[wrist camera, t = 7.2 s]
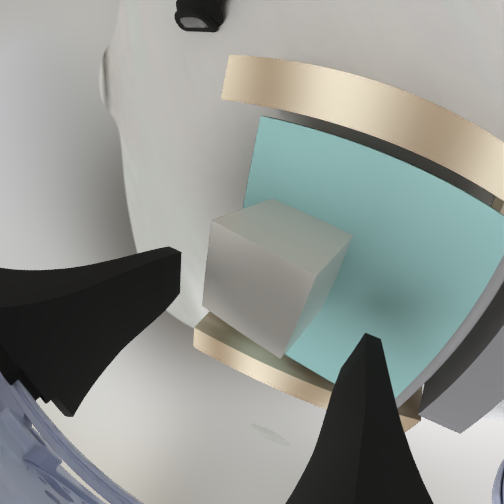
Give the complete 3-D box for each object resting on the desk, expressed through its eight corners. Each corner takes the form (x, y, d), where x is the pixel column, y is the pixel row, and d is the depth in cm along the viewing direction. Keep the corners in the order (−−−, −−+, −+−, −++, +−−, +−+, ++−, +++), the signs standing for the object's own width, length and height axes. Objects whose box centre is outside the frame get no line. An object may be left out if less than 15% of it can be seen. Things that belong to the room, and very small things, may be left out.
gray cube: (353, 235, 11) (316, 275, 8) (322, 307, 13) (280, 359, 10) (272, 198, 12) (211, 220, 9) (255, 269, 14) (202, 305, 11)
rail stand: (524, 181, 9) (583, 214, 4) (417, 366, 18) (414, 436, 13) (285, 79, 14) (229, 55, 9) (240, 293, 23) (193, 346, 17)
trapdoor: (567, 263, 6) (591, 293, 3) (459, 404, 12) (454, 442, 10) (294, 120, 14) (259, 115, 11) (254, 291, 20) (223, 315, 17)
